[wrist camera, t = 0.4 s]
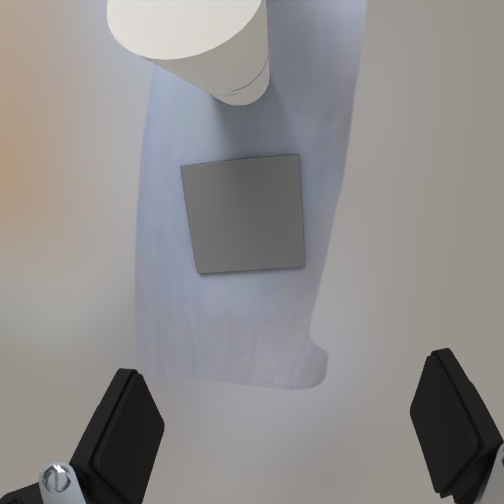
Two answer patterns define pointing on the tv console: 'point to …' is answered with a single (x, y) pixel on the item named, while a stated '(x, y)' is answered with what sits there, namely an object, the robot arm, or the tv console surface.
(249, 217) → the rubber mat
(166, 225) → the tv console surface
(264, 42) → the cylindrical container
